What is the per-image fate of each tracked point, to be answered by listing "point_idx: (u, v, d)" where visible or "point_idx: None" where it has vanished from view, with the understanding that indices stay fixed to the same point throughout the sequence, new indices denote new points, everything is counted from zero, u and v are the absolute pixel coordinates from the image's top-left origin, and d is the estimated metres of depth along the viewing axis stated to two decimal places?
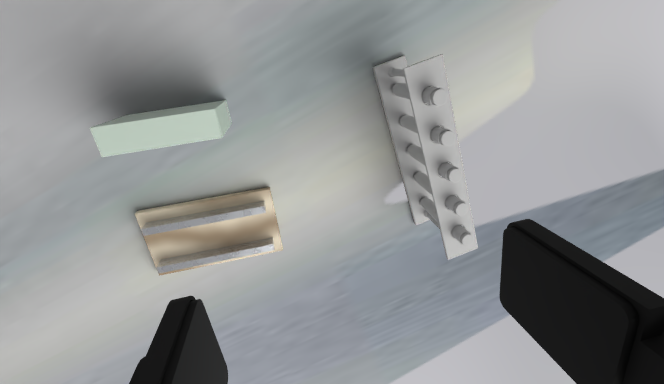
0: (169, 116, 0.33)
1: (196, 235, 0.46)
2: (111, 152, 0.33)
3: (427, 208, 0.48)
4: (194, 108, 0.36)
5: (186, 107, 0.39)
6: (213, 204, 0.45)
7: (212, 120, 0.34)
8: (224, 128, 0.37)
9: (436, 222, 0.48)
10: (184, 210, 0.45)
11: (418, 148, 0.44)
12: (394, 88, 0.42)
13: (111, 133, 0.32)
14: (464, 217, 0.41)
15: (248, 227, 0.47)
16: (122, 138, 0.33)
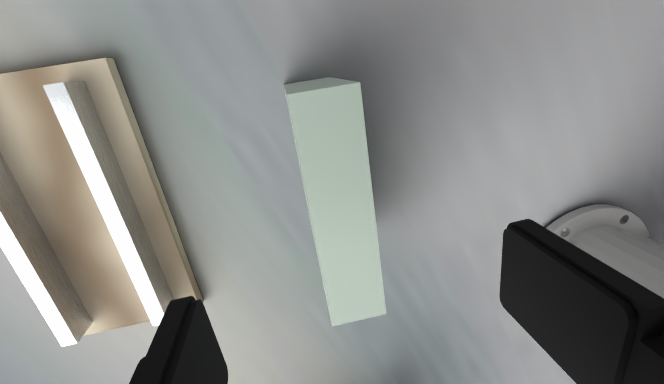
0: (376, 241, 0.16)
1: (67, 184, 0.20)
2: (299, 119, 0.13)
3: None
4: None
5: None
6: (155, 220, 0.22)
7: (365, 310, 0.17)
8: None
9: None
10: (131, 165, 0.21)
11: None
12: None
13: (345, 128, 0.14)
14: None
15: (109, 280, 0.23)
16: (332, 149, 0.14)
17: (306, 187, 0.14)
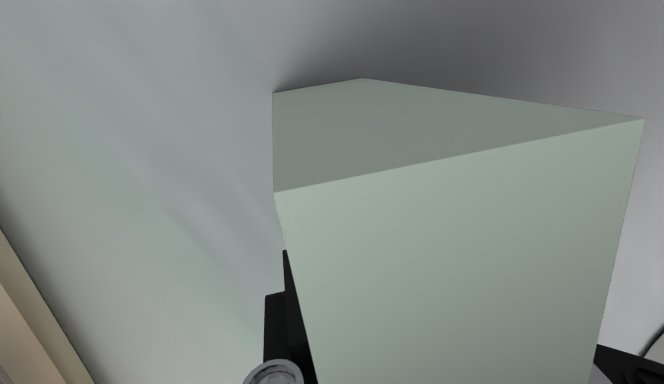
0: None
1: None
2: (338, 297, 0.03)
3: None
4: None
5: None
6: (24, 358, 0.11)
7: None
8: None
9: None
10: None
11: None
12: None
13: (530, 311, 0.03)
14: None
15: None
16: (467, 383, 0.03)
17: None
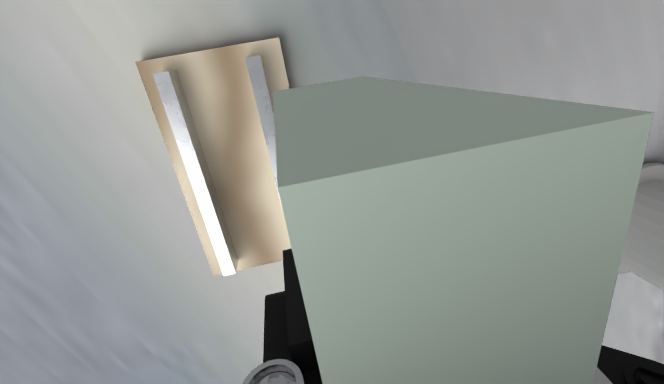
0: None
1: (236, 141, 0.25)
2: (342, 294, 0.03)
3: None
4: None
5: None
6: None
7: None
8: None
9: None
10: None
11: None
12: None
13: (536, 308, 0.03)
14: None
15: (255, 224, 0.28)
16: (472, 381, 0.03)
17: None
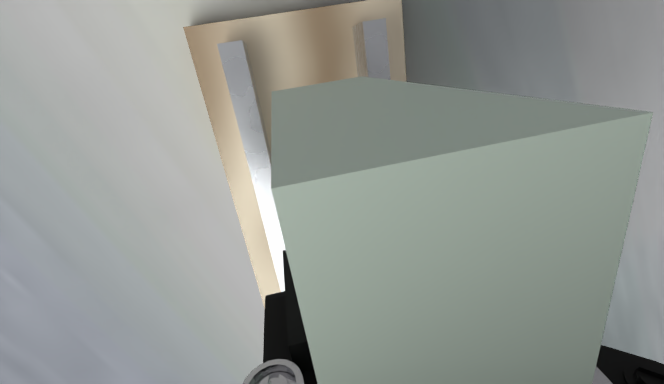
0: None
1: None
2: (338, 296, 0.03)
3: None
4: None
5: None
6: None
7: None
8: None
9: None
10: None
11: None
12: None
13: (534, 309, 0.03)
14: None
15: None
16: (469, 383, 0.03)
17: None
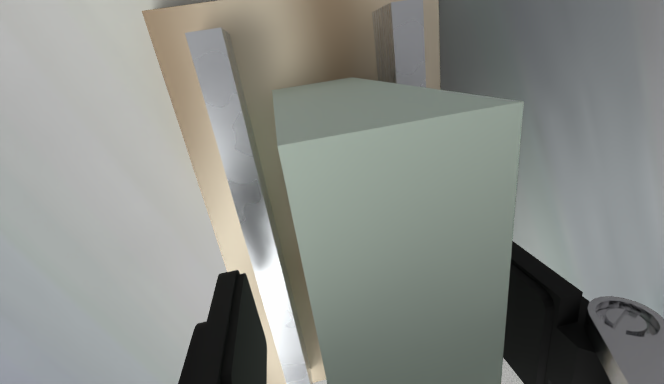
0: None
1: None
2: (320, 222, 0.04)
3: None
4: None
5: None
6: None
7: None
8: None
9: None
10: None
11: None
12: None
13: (457, 239, 0.05)
14: None
15: None
16: (415, 295, 0.05)
17: None
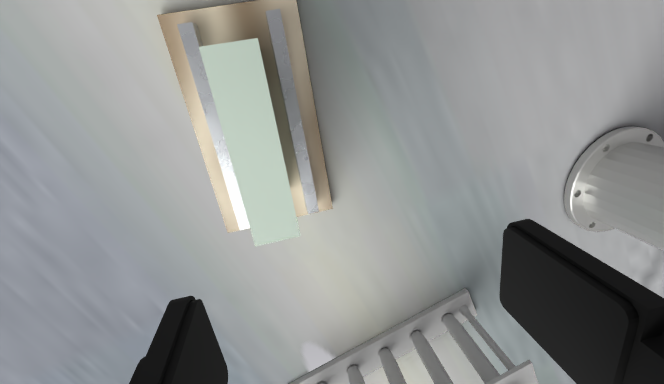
0: (285, 172, 0.20)
1: None
2: (211, 67, 0.17)
3: None
4: None
5: None
6: (310, 129, 0.28)
7: (282, 233, 0.21)
8: None
9: None
10: (301, 83, 0.27)
11: (399, 368, 0.38)
12: (455, 320, 0.39)
13: (249, 75, 0.18)
14: None
15: None
16: (241, 92, 0.18)
17: (222, 124, 0.18)
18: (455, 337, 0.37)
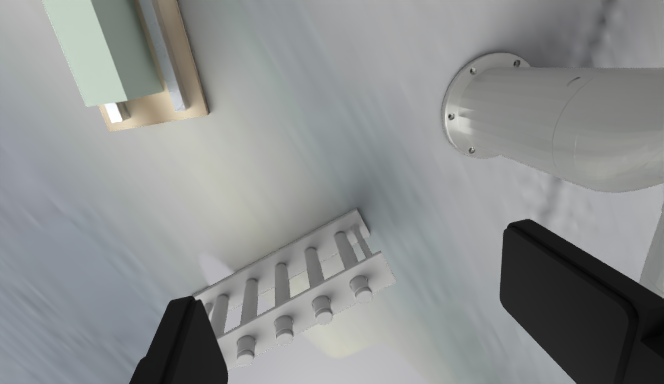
0: (103, 36, 0.23)
1: None
2: None
3: (218, 308, 0.41)
4: (133, 61, 0.28)
5: (139, 43, 0.30)
6: (176, 34, 0.32)
7: (109, 96, 0.25)
8: None
9: None
10: None
11: (287, 277, 0.41)
12: (342, 235, 0.42)
13: None
14: (230, 361, 0.35)
15: None
16: None
17: None
18: (338, 248, 0.40)
